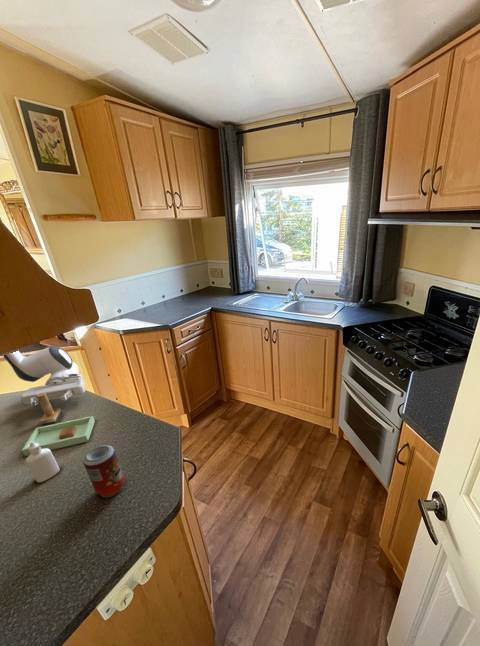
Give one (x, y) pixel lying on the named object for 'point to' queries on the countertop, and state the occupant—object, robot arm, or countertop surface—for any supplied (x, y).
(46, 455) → the eye dropper bottle
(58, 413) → the brush
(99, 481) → the soda can
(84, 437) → the tray
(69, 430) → the wooden block
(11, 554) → the countertop surface
